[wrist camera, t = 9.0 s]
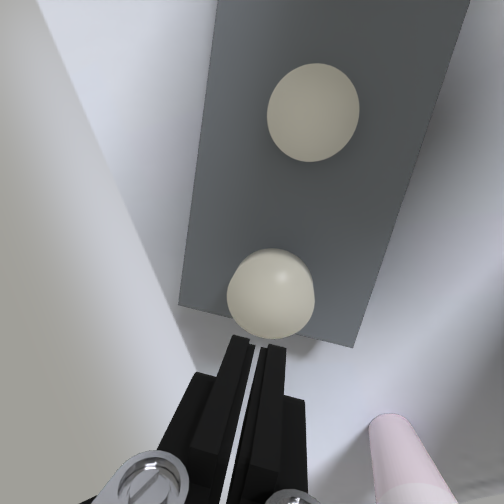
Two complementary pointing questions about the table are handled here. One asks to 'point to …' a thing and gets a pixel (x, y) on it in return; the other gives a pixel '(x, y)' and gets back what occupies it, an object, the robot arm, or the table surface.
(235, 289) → the knob
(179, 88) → the table surface
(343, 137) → the knob middle
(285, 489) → the robot arm
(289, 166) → the control panel
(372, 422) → the smoothie
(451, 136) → the table surface
